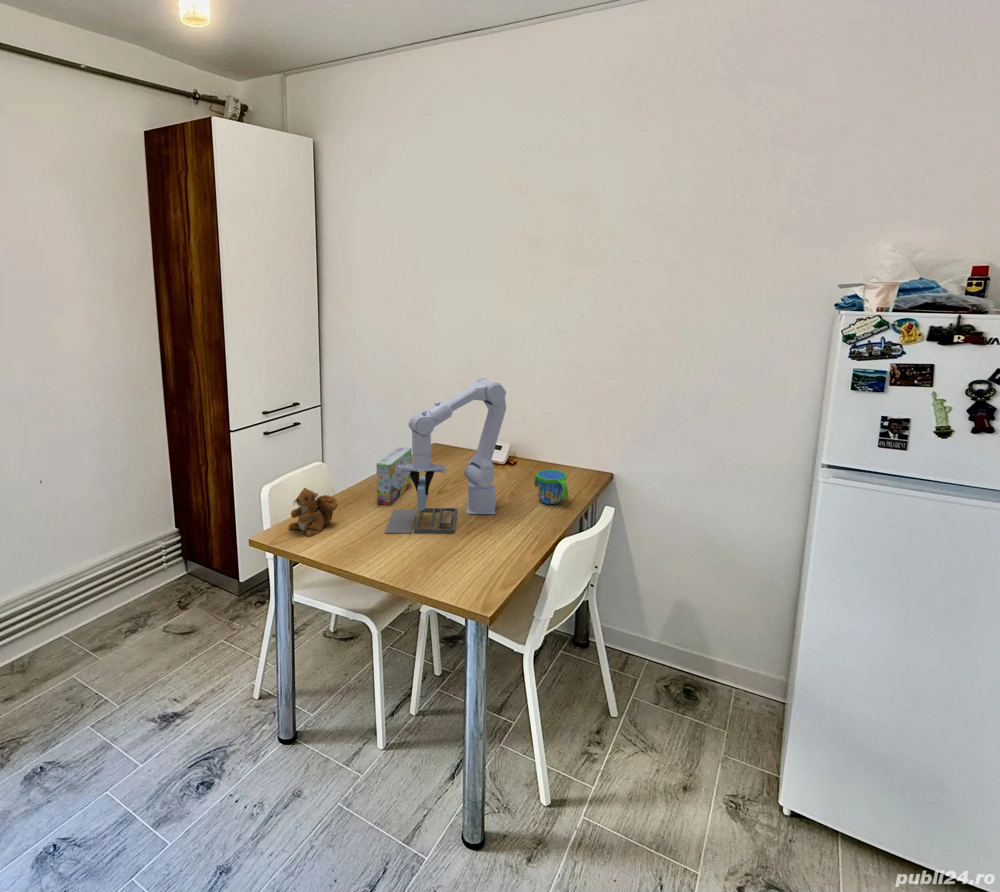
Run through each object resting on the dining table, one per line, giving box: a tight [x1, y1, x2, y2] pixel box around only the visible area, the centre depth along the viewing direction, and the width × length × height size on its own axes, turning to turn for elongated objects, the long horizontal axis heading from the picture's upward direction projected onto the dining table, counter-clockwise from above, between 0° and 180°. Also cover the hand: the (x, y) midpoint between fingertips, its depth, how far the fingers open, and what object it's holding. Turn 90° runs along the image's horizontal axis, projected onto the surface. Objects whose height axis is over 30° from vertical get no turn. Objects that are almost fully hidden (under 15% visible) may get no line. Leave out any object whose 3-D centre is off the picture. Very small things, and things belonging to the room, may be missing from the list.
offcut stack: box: [440, 511, 454, 529], centre depth 190 cm, size 3×12×2 cm, turn 1°
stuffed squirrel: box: [288, 487, 339, 537], centre depth 183 cm, size 10×14×13 cm
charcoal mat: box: [384, 509, 419, 535], centre depth 190 cm, size 8×18×1 cm, turn 1°
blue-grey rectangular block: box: [416, 475, 429, 511], centre depth 187 cm, size 2×12×7 cm, turn 1°
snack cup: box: [533, 469, 569, 505], centre depth 207 cm, size 16×10×10 cm
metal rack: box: [413, 507, 458, 535], centre depth 190 cm, size 12×17×1 cm
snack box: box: [376, 446, 413, 506], centre depth 211 cm, size 21×6×15 cm, turn 168°
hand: (422, 493), depth 187 cm, fingers closed on blue-grey rectangular block, 2 cm apart
